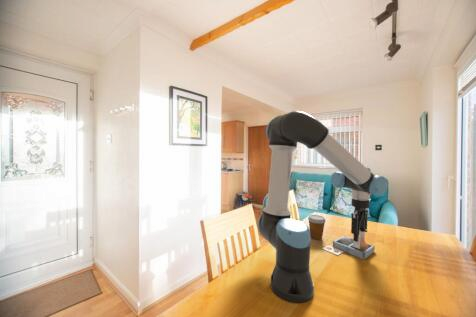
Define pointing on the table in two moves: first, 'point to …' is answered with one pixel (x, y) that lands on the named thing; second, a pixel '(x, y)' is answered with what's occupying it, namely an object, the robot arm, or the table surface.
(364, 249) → the terracotta ball
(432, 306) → the table surface
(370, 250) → the rack
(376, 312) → the table surface
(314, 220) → the disposable coffee cup
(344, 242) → the ball grey
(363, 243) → the terracotta ball
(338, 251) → the tile
